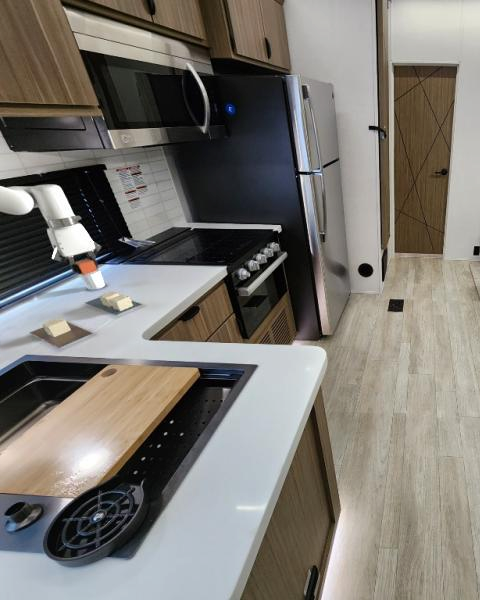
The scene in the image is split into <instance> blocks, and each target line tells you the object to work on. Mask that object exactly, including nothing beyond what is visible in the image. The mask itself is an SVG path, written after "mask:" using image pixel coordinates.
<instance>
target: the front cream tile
mask: <svg viewBox="0 0 480 600" xmlns="http://www.w3.org/2000/svg"><path fill="white" fill-rule="evenodd" d="M67 322H68V321H66V319H63V318H61V317H56V318H54V319H50V320H47V321H45V322H43V323H41V326H42V328H43V327H44V329H45V331H46V332H47V334H49V335H51V336H53V337H56V336H58V335H61V334H63V333H66V332H68V331H71V329H70V328H69V326H68V324H67Z"/></svg>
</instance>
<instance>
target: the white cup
mask: <svg viewBox="0 0 480 600" xmlns="http://www.w3.org/2000/svg"><path fill="white" fill-rule="evenodd" d="M97 270H98V271H95V272H91V273H88V274H85V275H82V274H78V276H79V278H80V279H81V281H82V282H83V284H84V285H85V286H86V288H87V289H88V290H90V291H92V290H93V291H95V290H99V289H102V288H104V287H106V284H105V281H104V278H103V275H102V273H101V270H100V269H99V268H98V269H97Z"/></svg>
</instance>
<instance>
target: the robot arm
mask: <svg viewBox="0 0 480 600" xmlns="http://www.w3.org/2000/svg"><path fill="white" fill-rule="evenodd" d="M36 208H38V209H39V210H40V211H39V212H40V213H41V215H42V216H43V218H44V220H45V222H46V224H47V226H48V227H49V228H46V231H47V235H48V238H49V241H50V243H51V246H52V248H53V254H52V257H51V259H52V260H54V261H57V262H63V263H66V264H68V265H69V267H70V269H71V271H72V272H73V273H74V274H77V275H79V274H81V271H80V269H79V267H78V265H77V264H76V263H75V262H76V261H75V259H74V256H77V255H81V254H85V255H86V256H87V259H89V260H92V261H93V262H94V264H95V266H96V268H97V269H99V267H98V266H99V264H98V262H97V260H96V258H97V255H98V253H99V251H100V250H101V249H102V245H101V244H98V243H97V242H95V241H93V239H92V238H91V236H90V234H89V233H88V231H87V230H86V229H85V227H84V225H82V224H81V222H79V221H80V220H82V217H81V216H80V215H75V214H74V213H75V212H74V211H73V209H72V207H71V205H70V203H69V200H68V198H67V196H66V195H65V193H64V190H63V189H62V187H61V186H60V185H57V184H49V183H48V184H38V185H34V186H22V185H21V186H16V185H14V186H13V185H12V186H7V187H5V186H2V185H0V212H1V213H5V214H8V215H15V216H16V215H17V216H21V215H26V214H28V213H30V212H31V211H33V209H36ZM60 256H62V257H60Z"/></svg>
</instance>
